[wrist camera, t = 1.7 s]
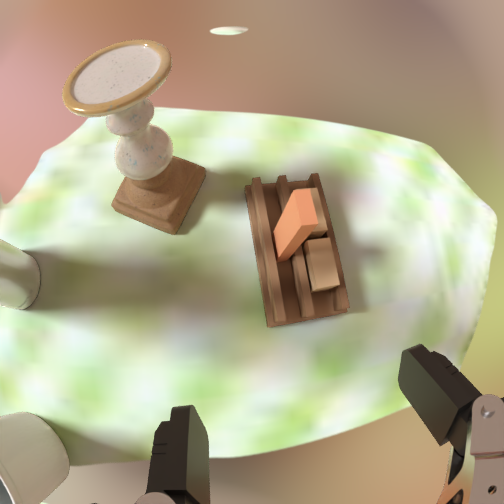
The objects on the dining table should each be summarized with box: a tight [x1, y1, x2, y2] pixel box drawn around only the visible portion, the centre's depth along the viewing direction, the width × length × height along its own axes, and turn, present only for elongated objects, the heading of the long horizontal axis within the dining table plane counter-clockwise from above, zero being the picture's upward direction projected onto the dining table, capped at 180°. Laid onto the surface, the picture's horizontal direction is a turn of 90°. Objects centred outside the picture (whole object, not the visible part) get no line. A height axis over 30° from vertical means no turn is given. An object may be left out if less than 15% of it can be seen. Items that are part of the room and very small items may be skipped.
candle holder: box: [62, 39, 206, 235], centre depth 30 cm, size 11×11×24 cm
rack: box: [245, 173, 350, 327], centre depth 39 cm, size 20×11×4 cm, turn 9°
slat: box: [271, 189, 318, 262], centre depth 33 cm, size 4×2×14 cm, turn 9°
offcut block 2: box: [302, 238, 340, 293], centre depth 37 cm, size 6×3×4 cm, turn 9°
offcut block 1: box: [295, 188, 328, 242], centre depth 39 cm, size 6×3×4 cm, turn 9°
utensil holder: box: [0, 412, 70, 504], centre depth 20 cm, size 15×15×18 cm
